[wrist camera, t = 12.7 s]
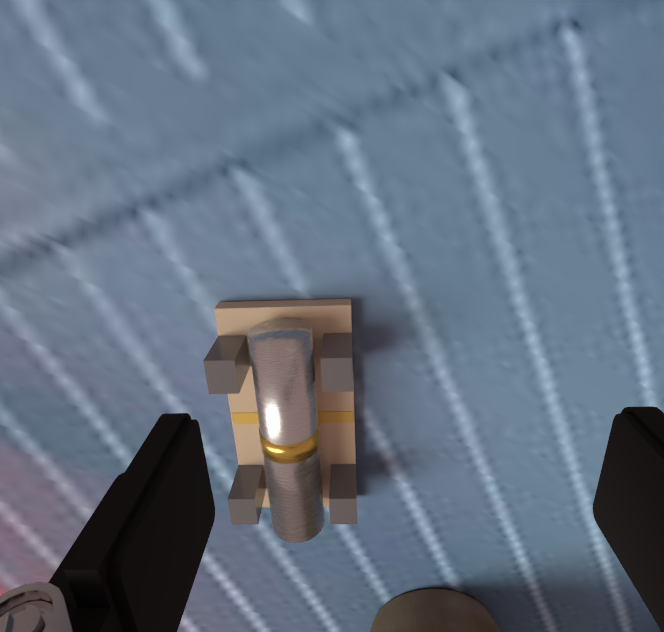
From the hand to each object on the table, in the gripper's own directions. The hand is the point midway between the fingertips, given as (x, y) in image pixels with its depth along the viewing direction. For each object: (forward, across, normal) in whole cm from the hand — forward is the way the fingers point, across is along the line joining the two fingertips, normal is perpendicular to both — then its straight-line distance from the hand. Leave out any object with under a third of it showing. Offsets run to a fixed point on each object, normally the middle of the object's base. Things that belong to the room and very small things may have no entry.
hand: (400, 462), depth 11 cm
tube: (+27, +7, +18) cm, 33 cm away
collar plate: (+28, +7, +18) cm, 34 cm away
